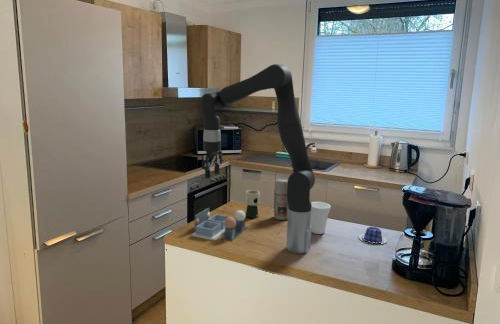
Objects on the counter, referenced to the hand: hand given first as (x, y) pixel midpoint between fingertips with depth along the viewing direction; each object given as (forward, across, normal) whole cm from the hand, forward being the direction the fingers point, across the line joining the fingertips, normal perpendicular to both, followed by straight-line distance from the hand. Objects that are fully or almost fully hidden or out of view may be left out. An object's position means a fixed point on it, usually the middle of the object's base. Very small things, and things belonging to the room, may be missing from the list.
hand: (212, 176), depth 174 cm
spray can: (+26, +30, -23) cm, 46 cm away
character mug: (+26, +25, -9) cm, 37 cm away
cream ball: (+19, +6, -10) cm, 22 cm away
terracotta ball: (+19, -4, -10) cm, 22 cm away
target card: (+25, 0, +6) cm, 26 cm away
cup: (+26, +20, -44) cm, 55 cm away
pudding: (+27, +23, -68) cm, 76 cm away
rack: (+25, 0, 0) cm, 25 cm away
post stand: (+26, +1, -10) cm, 28 cm away
